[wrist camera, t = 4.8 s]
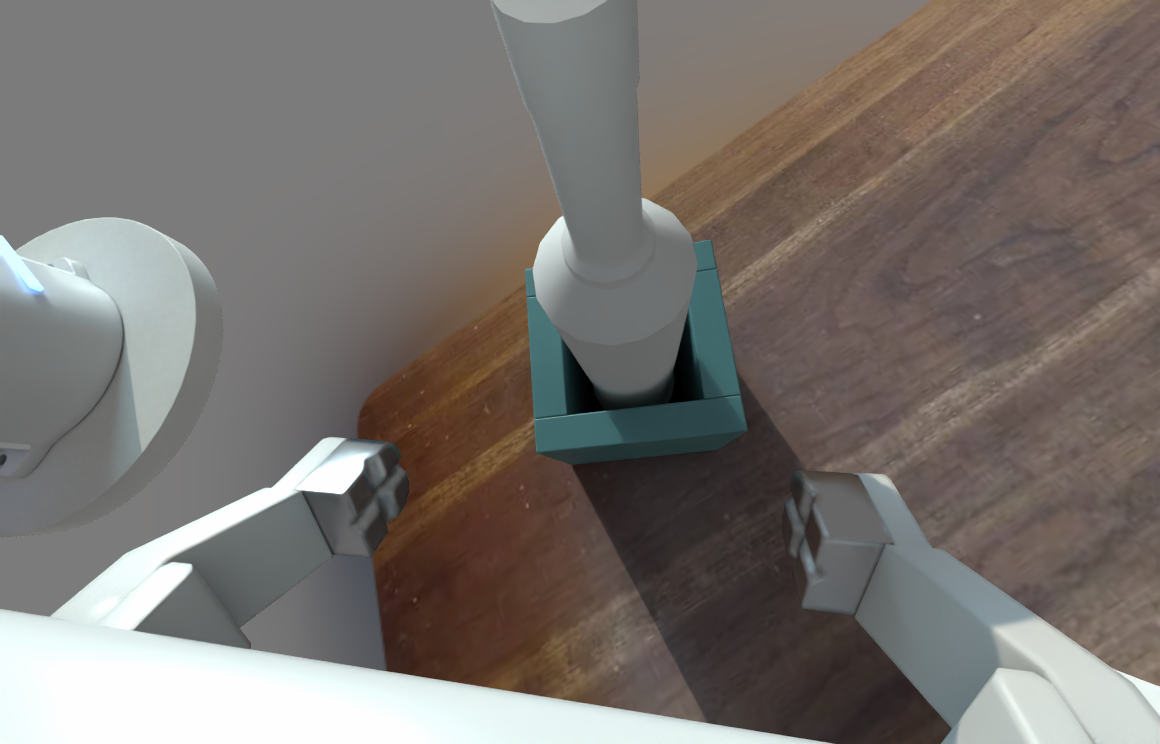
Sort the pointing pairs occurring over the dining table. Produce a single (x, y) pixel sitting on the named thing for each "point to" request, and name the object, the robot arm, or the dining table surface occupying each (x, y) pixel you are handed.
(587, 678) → the dining table surface
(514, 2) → the bottle
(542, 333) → the holster
